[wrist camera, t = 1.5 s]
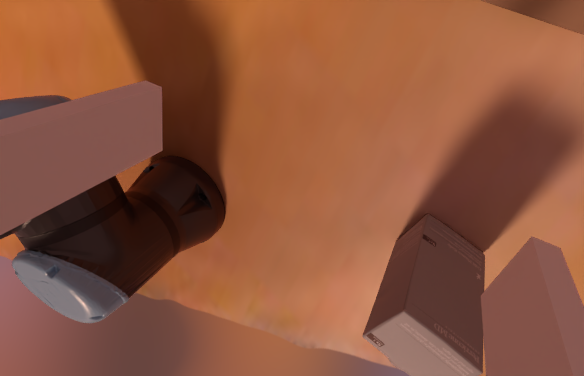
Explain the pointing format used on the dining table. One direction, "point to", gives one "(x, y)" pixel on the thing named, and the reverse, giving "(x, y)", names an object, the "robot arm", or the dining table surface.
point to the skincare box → (431, 304)
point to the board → (549, 11)
